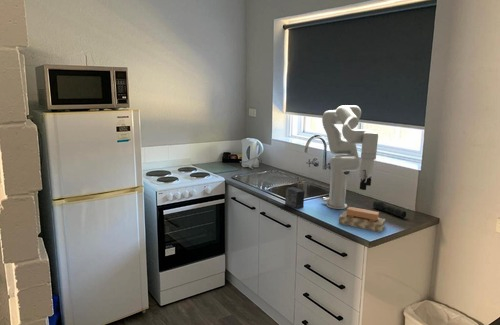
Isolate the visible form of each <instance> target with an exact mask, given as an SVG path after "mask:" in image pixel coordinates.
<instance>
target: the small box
mask: <svg viewBox="0 0 500 325" xmlns="http://www.w3.org/2000/svg"><path fill="white" fill-rule="evenodd" d="M284 202H285V205H286V206H288V207H291V208H293V209H301V207H302V208H304V204H305V190H302V189H300V188H297V187H294V186H291V187H286V188H285V201H284Z"/></svg>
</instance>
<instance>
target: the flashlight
mask: <svg viewBox="0 0 500 325" xmlns="http://www.w3.org/2000/svg"><path fill="white" fill-rule="evenodd" d="M372 208H374V209H376V210H377V211H384V212H387V213H388V214H391V215H393V216H396V217H400V218H401V219H405V218H406V217H407V212H406V211H405V210H402V209H400V208H396V207H394V206H391V205H387V204H386V203H385V202H383V201H379V200H374V201H373V203H372Z"/></svg>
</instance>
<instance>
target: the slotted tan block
mask: <svg viewBox="0 0 500 325" xmlns="http://www.w3.org/2000/svg"><path fill="white" fill-rule="evenodd" d="M346 211H347V210H346ZM346 211H343V212H342V213H341V214H340V215H339V216H338V224H339V223H341V224H340V225H344V226H349V225H350V226H349V227H353V226H354V228H359V229H360V228H361V229H363V230H369V231H372V232H373V231H375V232H378V233H382V231H383V229H384V228H385V226H386V218H382V217H379V218H378V219H377V220H376V222H371V221H369V219H367V218H362V217H357V216H356V217H355V218H351V217H348V215H347V214H346Z"/></svg>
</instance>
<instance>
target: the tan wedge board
mask: <svg viewBox="0 0 500 325" xmlns="http://www.w3.org/2000/svg"><path fill="white" fill-rule="evenodd" d="M346 214H347V215H348V217H351V218H355V217H356V216H357V217H362V218H367V219H369V221H371V222H376V220H377V219H378V218H380V211H375V210H369V209H364V208H360V207H359V208H358V207H354V206H347V208H346Z"/></svg>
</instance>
